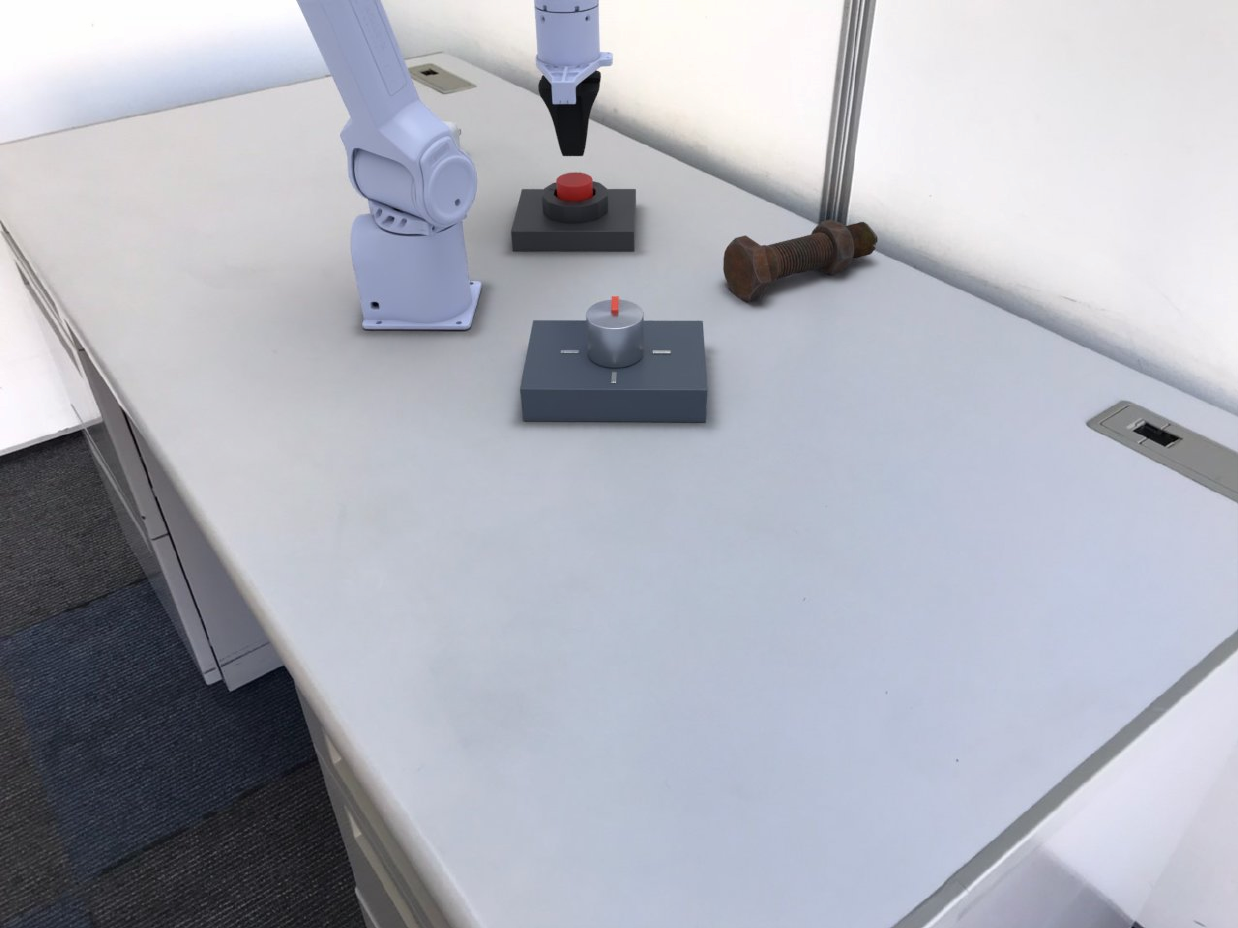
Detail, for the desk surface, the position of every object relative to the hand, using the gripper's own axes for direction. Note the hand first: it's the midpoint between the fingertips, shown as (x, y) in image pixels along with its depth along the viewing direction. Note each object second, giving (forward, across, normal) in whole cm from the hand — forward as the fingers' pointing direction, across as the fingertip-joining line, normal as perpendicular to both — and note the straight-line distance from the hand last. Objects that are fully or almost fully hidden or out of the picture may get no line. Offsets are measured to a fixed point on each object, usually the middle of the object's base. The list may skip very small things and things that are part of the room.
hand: (573, 153), depth 97 cm
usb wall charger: (+8, +19, +17) cm, 27 cm away
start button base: (+8, 0, 0) cm, 8 cm away
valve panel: (+8, -28, -5) cm, 30 cm away
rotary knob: (+5, -28, -5) cm, 29 cm away
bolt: (+8, -10, -22) cm, 26 cm away
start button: (+4, 0, 0) cm, 4 cm away
